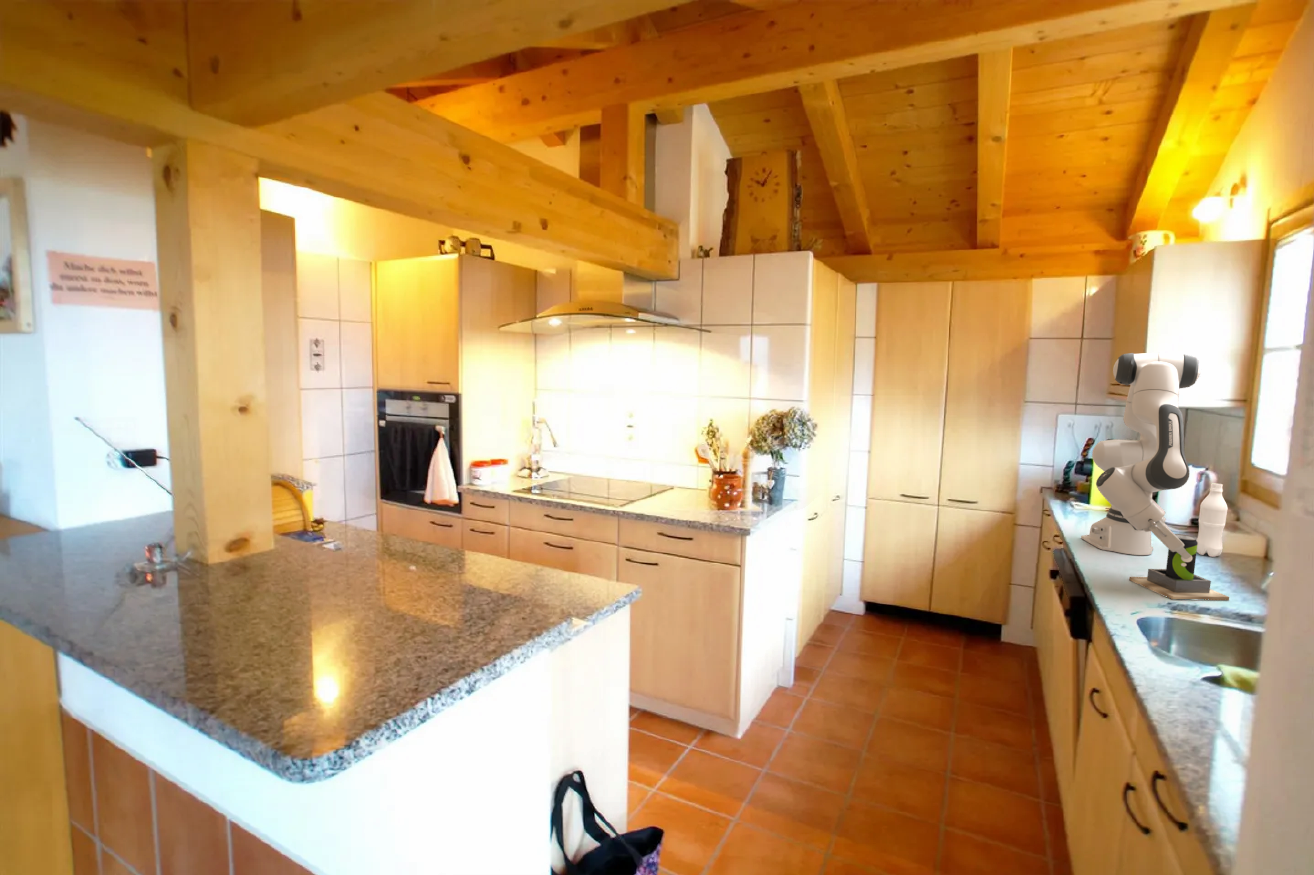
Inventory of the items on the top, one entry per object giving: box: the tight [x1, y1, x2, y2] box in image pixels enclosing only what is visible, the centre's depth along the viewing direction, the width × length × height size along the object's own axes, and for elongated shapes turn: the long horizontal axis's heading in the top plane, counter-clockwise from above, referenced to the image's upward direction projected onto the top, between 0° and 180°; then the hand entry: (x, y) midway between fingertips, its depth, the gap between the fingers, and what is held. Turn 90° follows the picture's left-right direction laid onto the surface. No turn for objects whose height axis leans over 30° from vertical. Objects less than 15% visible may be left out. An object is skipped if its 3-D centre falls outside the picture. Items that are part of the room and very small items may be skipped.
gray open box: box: [1146, 568, 1212, 593], centre depth 183 cm, size 10×10×4 cm
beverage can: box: [1165, 533, 1198, 580], centre depth 183 cm, size 6×6×15 cm
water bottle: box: [1196, 482, 1229, 558], centre depth 217 cm, size 7×7×25 cm
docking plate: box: [1128, 576, 1230, 601], centre depth 184 cm, size 16×16×1 cm
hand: (1184, 553), depth 182 cm, fingers closed on beverage can, 6 cm apart
